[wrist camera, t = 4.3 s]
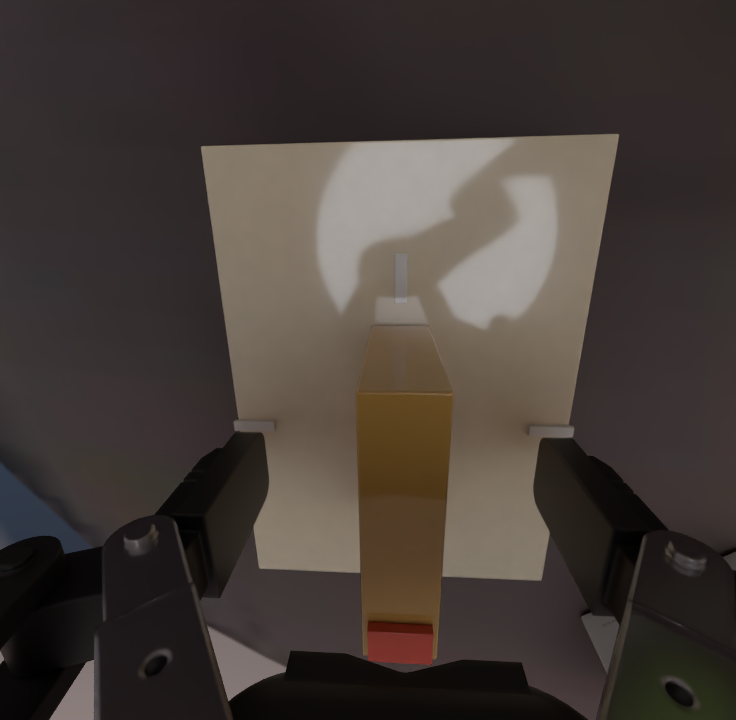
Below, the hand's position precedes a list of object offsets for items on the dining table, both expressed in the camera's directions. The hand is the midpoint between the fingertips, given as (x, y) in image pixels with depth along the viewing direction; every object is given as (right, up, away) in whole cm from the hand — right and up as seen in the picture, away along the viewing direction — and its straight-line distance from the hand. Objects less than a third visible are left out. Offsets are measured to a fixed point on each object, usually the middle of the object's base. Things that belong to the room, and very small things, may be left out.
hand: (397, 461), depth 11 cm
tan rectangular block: (0, +1, +2) cm, 2 cm away
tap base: (0, +3, +4) cm, 5 cm away
